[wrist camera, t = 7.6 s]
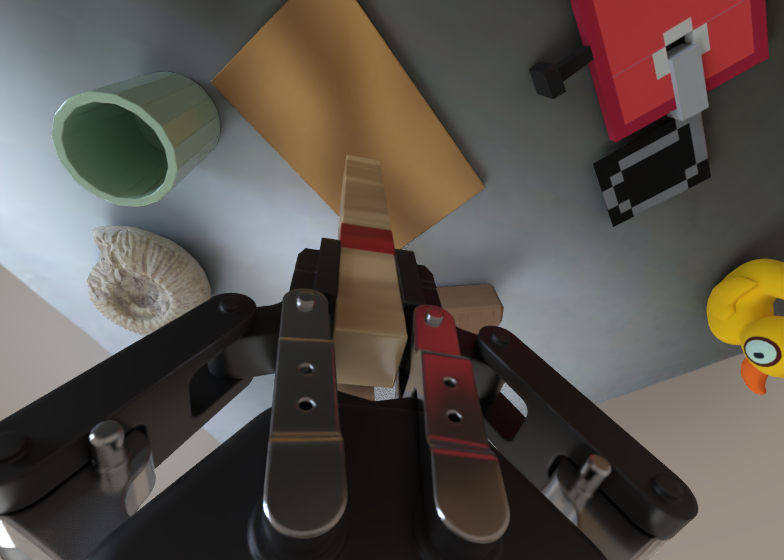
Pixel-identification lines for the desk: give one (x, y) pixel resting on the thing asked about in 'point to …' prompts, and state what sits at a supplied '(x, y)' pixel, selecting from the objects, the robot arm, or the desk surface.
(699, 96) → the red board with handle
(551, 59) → the desk surface
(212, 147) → the utensil cup
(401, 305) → the red-banded beige block
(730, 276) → the duckling
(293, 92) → the placemat
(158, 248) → the fossil
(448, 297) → the wooden block set
